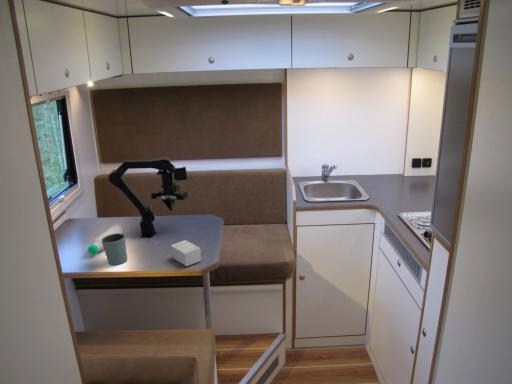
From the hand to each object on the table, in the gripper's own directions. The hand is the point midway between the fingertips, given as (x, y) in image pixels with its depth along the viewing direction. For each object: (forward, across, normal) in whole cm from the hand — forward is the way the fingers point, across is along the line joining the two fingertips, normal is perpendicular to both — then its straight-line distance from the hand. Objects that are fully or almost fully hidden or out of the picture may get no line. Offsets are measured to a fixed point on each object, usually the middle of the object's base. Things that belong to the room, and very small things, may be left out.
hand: (171, 210), depth 226 cm
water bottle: (+8, +27, +10) cm, 30 cm away
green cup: (+12, +10, +36) cm, 39 cm away
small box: (+8, -16, +25) cm, 31 cm away
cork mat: (+12, -23, +25) cm, 36 cm away
